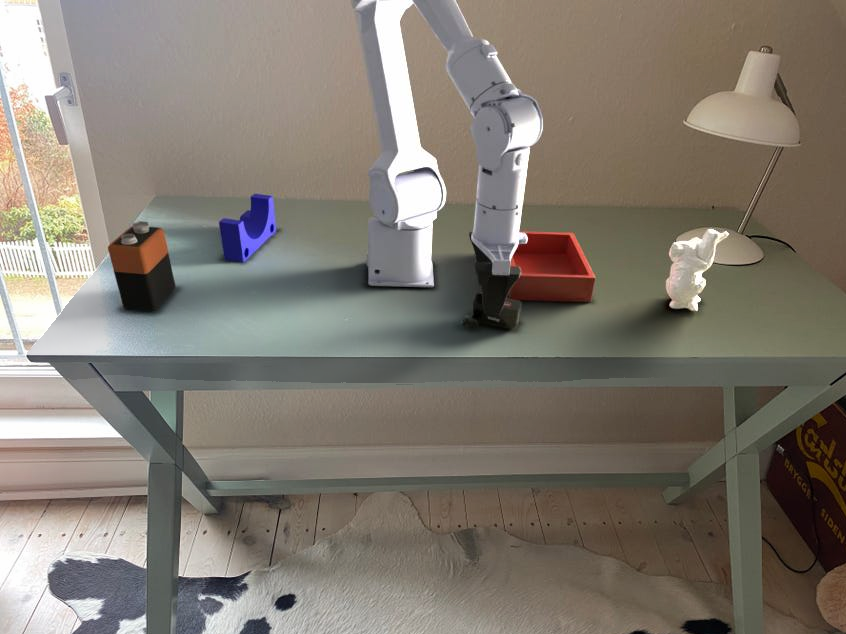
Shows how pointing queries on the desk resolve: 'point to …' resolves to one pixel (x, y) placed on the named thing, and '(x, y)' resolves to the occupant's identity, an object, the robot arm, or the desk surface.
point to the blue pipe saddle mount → (248, 229)
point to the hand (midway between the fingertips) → (489, 298)
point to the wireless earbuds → (504, 319)
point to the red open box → (552, 269)
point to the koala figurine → (690, 268)
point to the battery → (142, 267)
